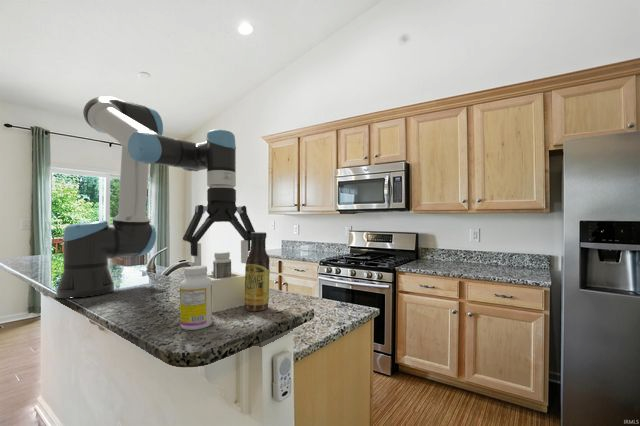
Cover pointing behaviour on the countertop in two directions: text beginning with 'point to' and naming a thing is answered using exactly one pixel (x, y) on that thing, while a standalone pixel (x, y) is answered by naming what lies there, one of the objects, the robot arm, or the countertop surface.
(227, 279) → the cream open-top box
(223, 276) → the pill bottle
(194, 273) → the supplement bottle
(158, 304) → the countertop surface
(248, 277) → the sauce bottle
